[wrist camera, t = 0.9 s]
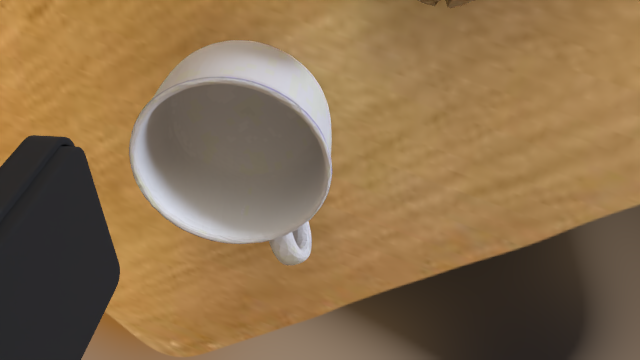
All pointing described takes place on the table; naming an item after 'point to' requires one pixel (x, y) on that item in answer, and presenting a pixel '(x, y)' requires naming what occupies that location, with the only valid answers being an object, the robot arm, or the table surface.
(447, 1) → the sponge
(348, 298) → the table surface
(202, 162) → the teacup
